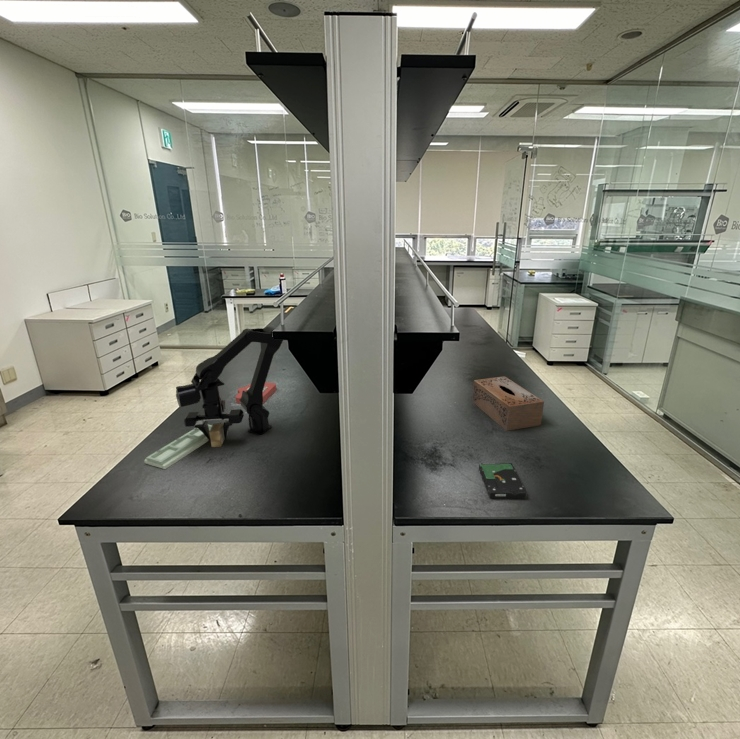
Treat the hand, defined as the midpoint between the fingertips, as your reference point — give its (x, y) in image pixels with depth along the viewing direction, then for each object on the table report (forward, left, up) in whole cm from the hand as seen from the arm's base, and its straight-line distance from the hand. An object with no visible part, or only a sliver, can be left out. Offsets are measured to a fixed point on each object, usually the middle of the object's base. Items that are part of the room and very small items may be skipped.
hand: (218, 439), depth 147 cm
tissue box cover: (-90, -61, -2) cm, 109 cm away
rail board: (+9, +7, -1) cm, 11 cm away
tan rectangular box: (0, 0, -1) cm, 1 cm away
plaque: (+14, -37, -2) cm, 40 cm away
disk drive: (-95, -14, -2) cm, 96 cm away
